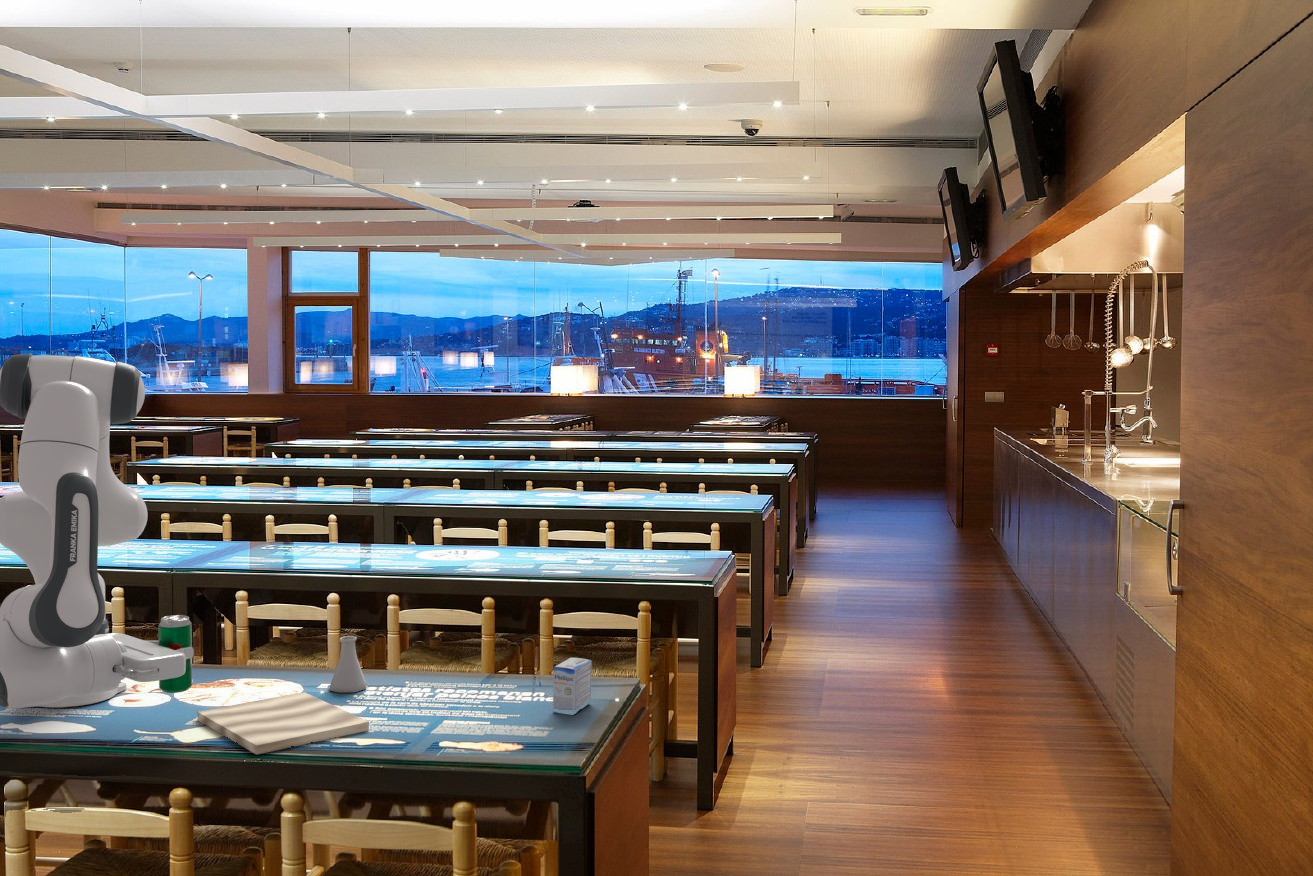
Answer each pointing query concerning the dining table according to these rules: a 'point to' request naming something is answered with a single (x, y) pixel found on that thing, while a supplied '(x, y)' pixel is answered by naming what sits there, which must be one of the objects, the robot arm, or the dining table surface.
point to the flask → (348, 669)
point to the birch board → (281, 722)
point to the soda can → (173, 636)
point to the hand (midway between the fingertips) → (180, 648)
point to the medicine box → (572, 683)
